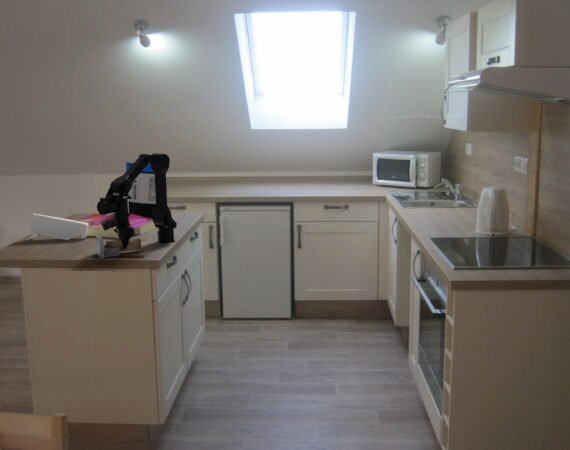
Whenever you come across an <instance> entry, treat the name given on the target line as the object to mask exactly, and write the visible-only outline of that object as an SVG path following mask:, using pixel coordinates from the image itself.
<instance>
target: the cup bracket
mask: <svg viewBox="0 0 570 450" xmlns="http://www.w3.org/2000/svg"><path fill="white" fill-rule="evenodd" d="M94 237H95V245H96V246H95V248H96V255H97V256H98V255H99V256H98V257H99V258H100V260H101V259H105V258H113V256H114V257H116V256H115V255H120V256H121V252H120V248H119V247H115V248H106V244H104V243H105V242H104V239H103V238H104V237H101V236H100V235H99V234H97V235H95V236H94Z"/></svg>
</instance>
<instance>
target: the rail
mask: <svg viewBox="0 0 570 450" xmlns="http://www.w3.org/2000/svg"><path fill="white" fill-rule="evenodd" d="M104 243H105V245H106V248H115V247H119V248H120V253H121V252H131V251H140V250H142V240H141V238H130V240H129V242H128V245H127V247H126V249H124V248H123V245H122V241H121V240H119V239H117V240H108V241H107V240H106V241H105V242H104Z"/></svg>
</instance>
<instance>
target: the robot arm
mask: <svg viewBox="0 0 570 450" xmlns="http://www.w3.org/2000/svg"><path fill="white" fill-rule="evenodd" d="M170 159H171V158H170V156H169V155H168V154H167V153H157V152H155V153H152V154H149V153H140V154H139V155H138V158H137V159H136V160H135V161H134V162H132V163H133V164H132V166H131V167H130V168H129V169H128V170H127V171H124V173H123V174H122V175H120V176H118V177H116V178H115V179H114V180H112V181H111V182H110V185H109V188H108V190H107V192H106V194H105V196H104V197H100V198H99V201H98V202H97V205H96V210H97V212H98V213H99V214H101V215H105V214H106V215H107V214H108V215H110V214H113V217H111V218H108V219H106V220H104V221H102V222H100V223H101V225H102V227H103V229H104V230H105V231H106V230H108V229H110V228H114V227H115V229H113V230H114V231H115V232H116V233H117V234H118V237H119V238H118V240H121V241H122V245H123V248H124V249H126V247H127V245H128V242H129V240H130V239H131V237H132V235H136V234H135V233H134V229H133V228H132V227H131V226H130V223H129V216H130V214H129V203H128V199H132V197H131V196H129V195H128V193H129V191H130V190H131V188H132V185H133V182H134V180H135V179H136V178H137V177H138V176H139V174H140V173H141V172H142V171H143V170H144V169H145V167H146V166H147V165H148V164H149V163H150V165H151V169H152V170H153V172H154V174H155V194H156V207H155V209H154V210H152V211H151V213H152V218H151V219H152V220H153V223H154V224H155V229H157V237H156V238H157V241H158V242H159V241H160V242H159V243H160V244H164V243H165V244H166V243H174V242H176V239H175V235H174V234H175V232H174V230H175V229H177V224H178V223H177V222H176V221H175V220H174V218H173V216H172V211H171V210H170V208H169V206H168V187H167V172H168V171H169V169H170V163H171V162H170V161H171V160H170ZM106 215H105V216H106Z"/></svg>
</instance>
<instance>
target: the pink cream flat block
mask: <svg viewBox="0 0 570 450" xmlns="http://www.w3.org/2000/svg"><path fill="white" fill-rule="evenodd" d="M111 217H113V213H109V214H105V215H101V214H99V212H98V213H95V212H94V213H92V214H90V215H87V216H85V217H82V218H80V219H78V220H76V221H80V222H86V223H88V224H89V227H88V234H87V236H88V237H96V236H95V235H97V234H99V235H100V236H101V237H102V238H115V239H119V237H118V234H117V233H116V232H115V231H114V230H113V229H115V227H114V228H110V229H108V230H106V231H105V230H104V229H103V227H102V225H101V223H100V222H102V221H104V220H106V219H108V218H111ZM132 217H133V218H132ZM129 223H130V226H131V227H132V228H133V229H134V233H135V234H134V235H143V234H144V233H148V232H149V231H151V230H154V229H156V227H155V224H154V223H153V220H152V219H151V218H149V219H148V218H147V219H146V217H145V218H144V217H142V216H138V217H137V215H136V217H135V215H134V216H133V214H130V216H129ZM87 236H86V237H87Z"/></svg>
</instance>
